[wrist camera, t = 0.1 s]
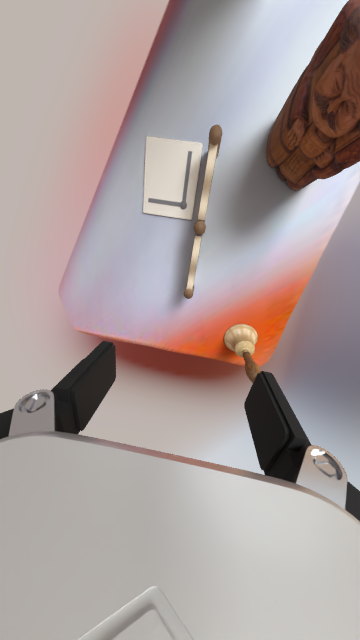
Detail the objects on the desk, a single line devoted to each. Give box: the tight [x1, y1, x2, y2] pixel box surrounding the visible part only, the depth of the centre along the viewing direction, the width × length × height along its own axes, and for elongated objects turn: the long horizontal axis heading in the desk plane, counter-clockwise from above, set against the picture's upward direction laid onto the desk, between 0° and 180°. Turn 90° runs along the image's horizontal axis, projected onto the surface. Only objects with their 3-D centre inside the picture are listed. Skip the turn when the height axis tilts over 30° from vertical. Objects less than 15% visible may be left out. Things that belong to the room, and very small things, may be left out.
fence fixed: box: [194, 125, 222, 235], centre depth 30 cm, size 14×2×6 cm, turn 172°
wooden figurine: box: [267, 0, 360, 191], centre depth 21 cm, size 12×6×18 cm, turn 47°
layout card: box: [143, 136, 203, 220], centre depth 32 cm, size 12×10×1 cm
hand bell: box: [224, 324, 261, 383], centre depth 37 cm, size 8×8×16 cm
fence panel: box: [184, 236, 202, 299], centre depth 35 cm, size 12×2×6 cm, turn 172°
